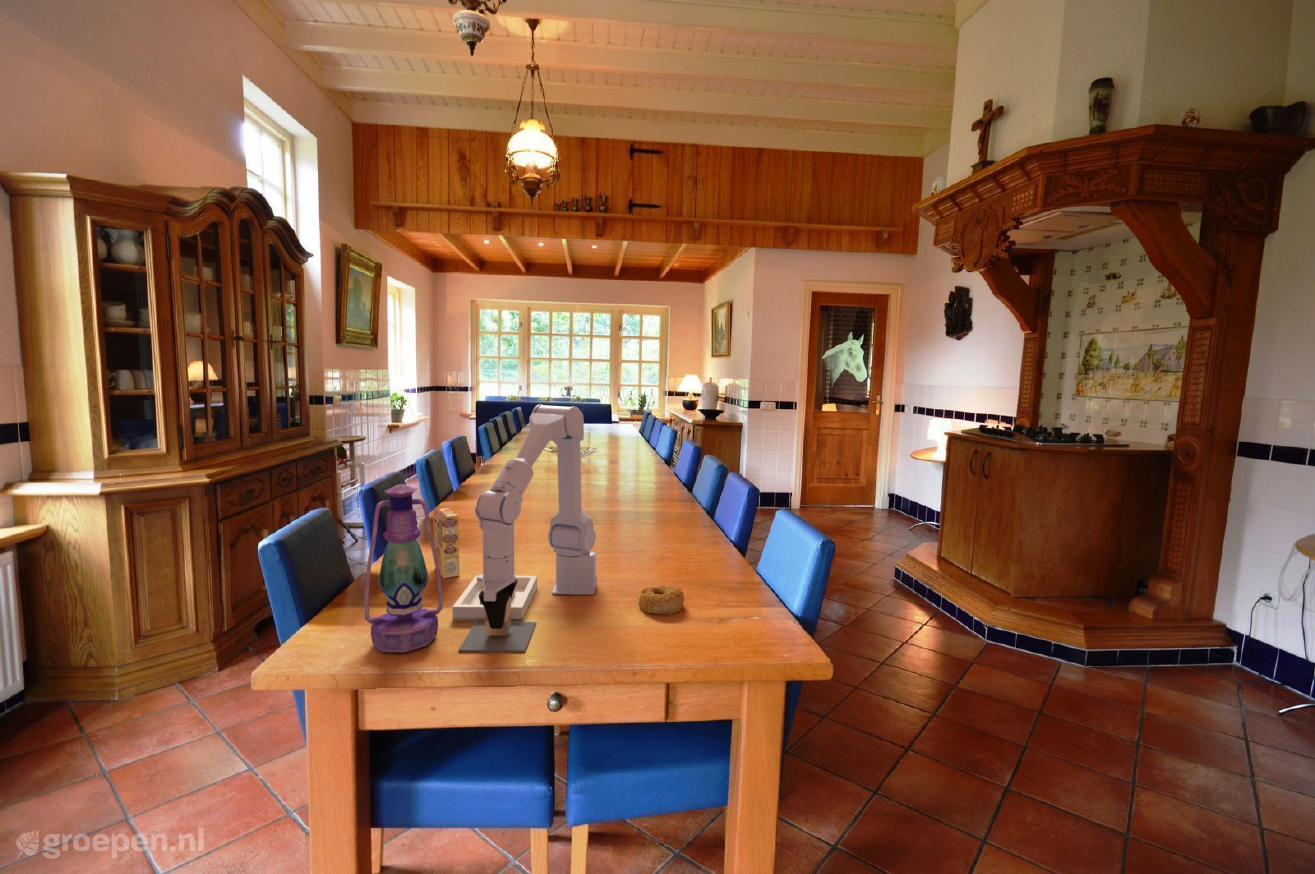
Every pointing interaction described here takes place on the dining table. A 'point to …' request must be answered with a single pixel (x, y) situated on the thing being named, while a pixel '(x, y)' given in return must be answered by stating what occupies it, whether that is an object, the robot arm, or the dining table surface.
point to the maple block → (506, 623)
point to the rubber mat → (498, 639)
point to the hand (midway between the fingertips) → (499, 622)
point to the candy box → (446, 541)
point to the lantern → (402, 577)
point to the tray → (474, 610)
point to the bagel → (661, 600)
